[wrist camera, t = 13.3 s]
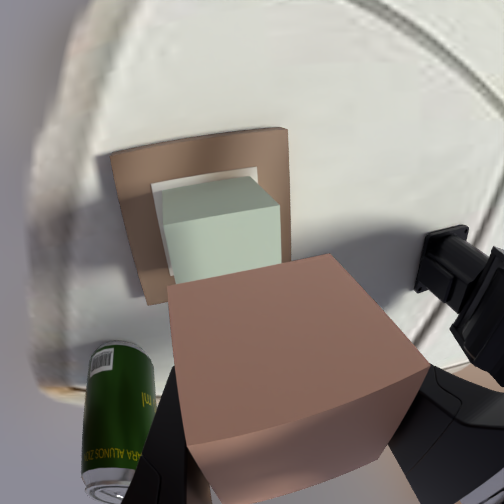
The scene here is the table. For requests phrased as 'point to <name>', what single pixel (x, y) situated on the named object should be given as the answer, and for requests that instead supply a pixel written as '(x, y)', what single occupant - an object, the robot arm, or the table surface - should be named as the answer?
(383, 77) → the table surface
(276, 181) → the tower base
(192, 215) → the brick sage
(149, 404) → the beer can
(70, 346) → the table surface
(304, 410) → the dusty pink cube
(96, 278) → the table surface
